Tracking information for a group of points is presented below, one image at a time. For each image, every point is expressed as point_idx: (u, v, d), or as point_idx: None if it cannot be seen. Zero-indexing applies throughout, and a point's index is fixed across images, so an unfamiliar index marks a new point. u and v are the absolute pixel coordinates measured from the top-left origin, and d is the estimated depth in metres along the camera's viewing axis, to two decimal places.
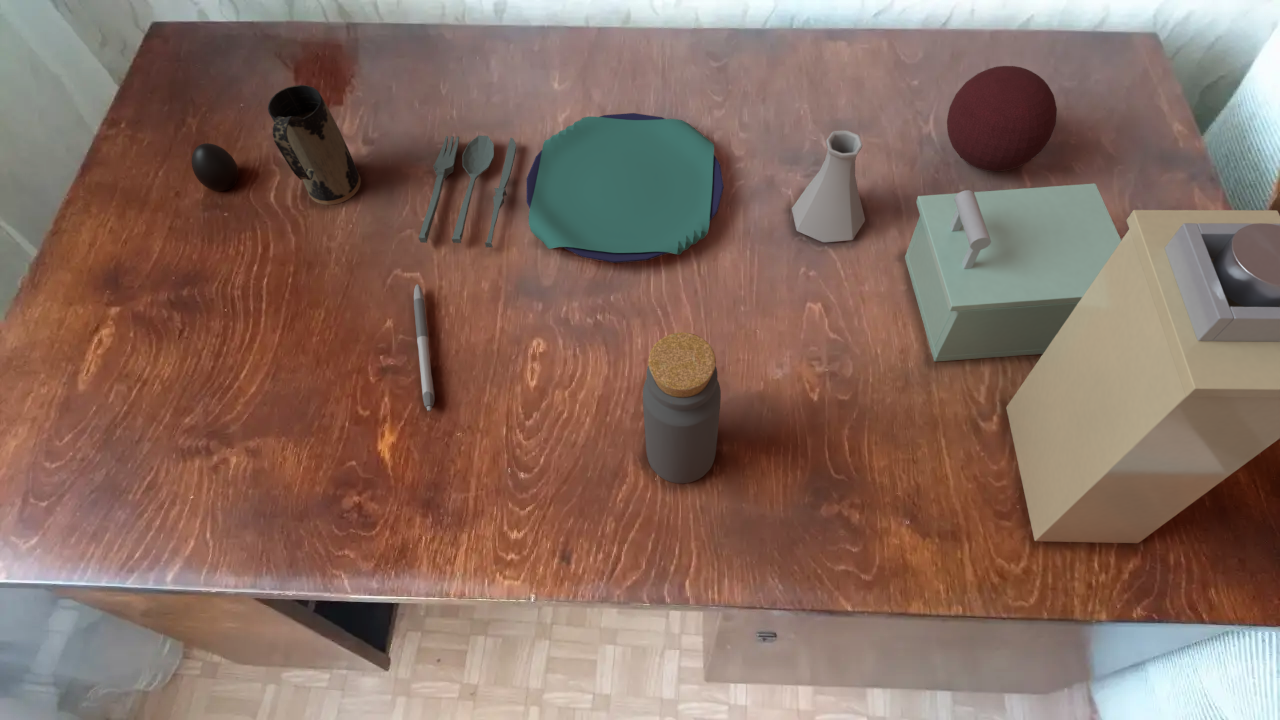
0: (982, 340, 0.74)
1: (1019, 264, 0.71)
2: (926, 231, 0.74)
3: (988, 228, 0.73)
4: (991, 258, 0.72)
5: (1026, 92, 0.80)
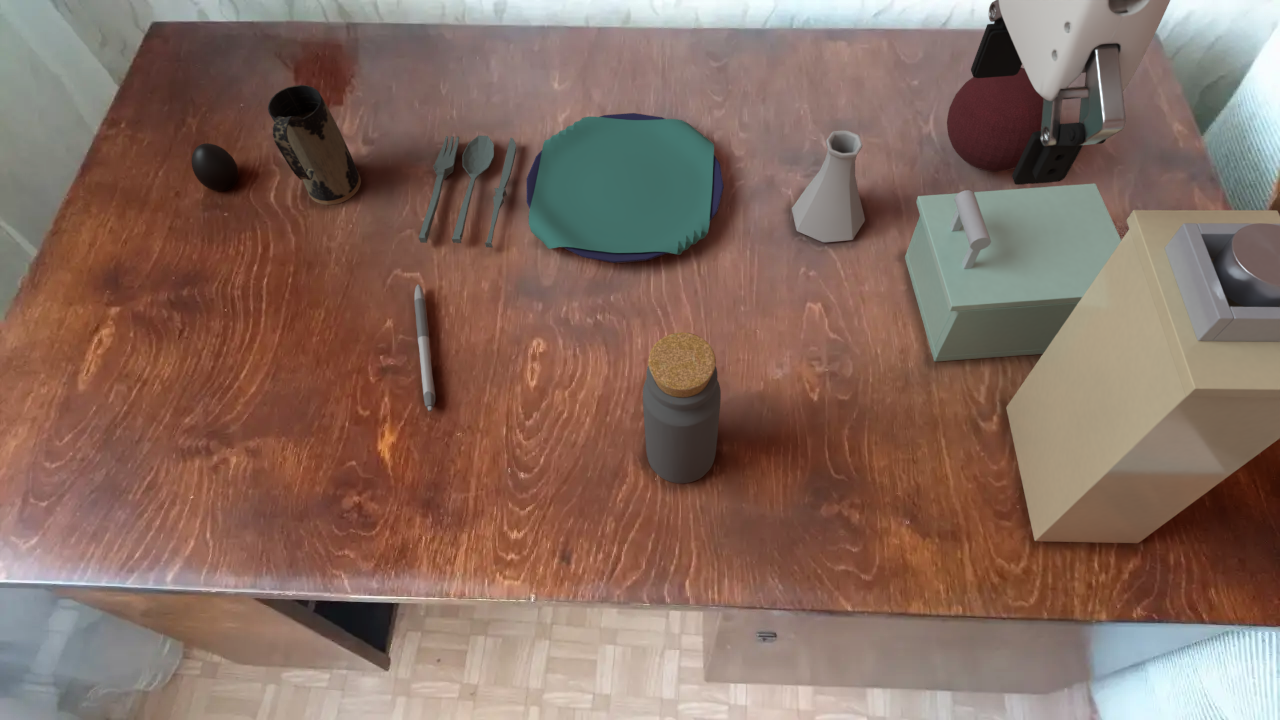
0: (982, 340, 0.74)
1: (1019, 264, 0.71)
2: (926, 231, 0.74)
3: (988, 228, 0.73)
4: (991, 258, 0.72)
5: (1026, 92, 0.80)
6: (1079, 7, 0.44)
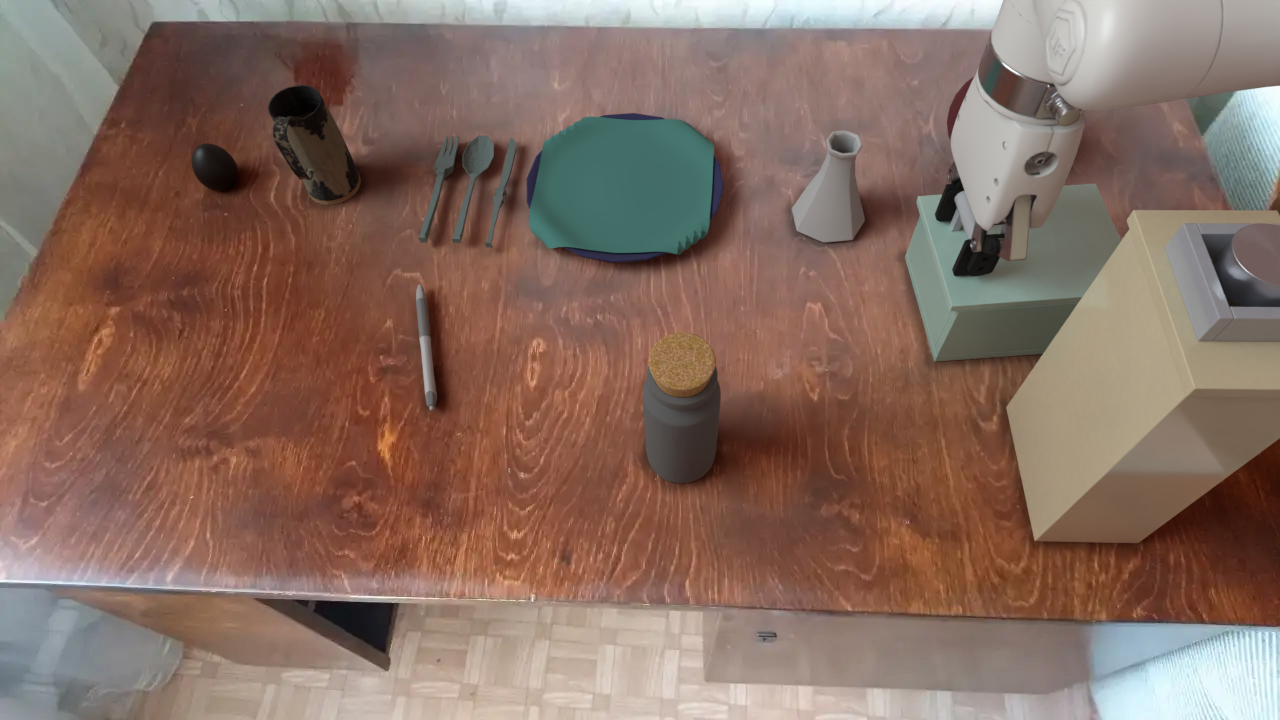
0: (982, 340, 0.74)
1: (1019, 264, 0.71)
2: (926, 231, 0.74)
3: None
4: None
5: None
6: (1003, 170, 0.58)
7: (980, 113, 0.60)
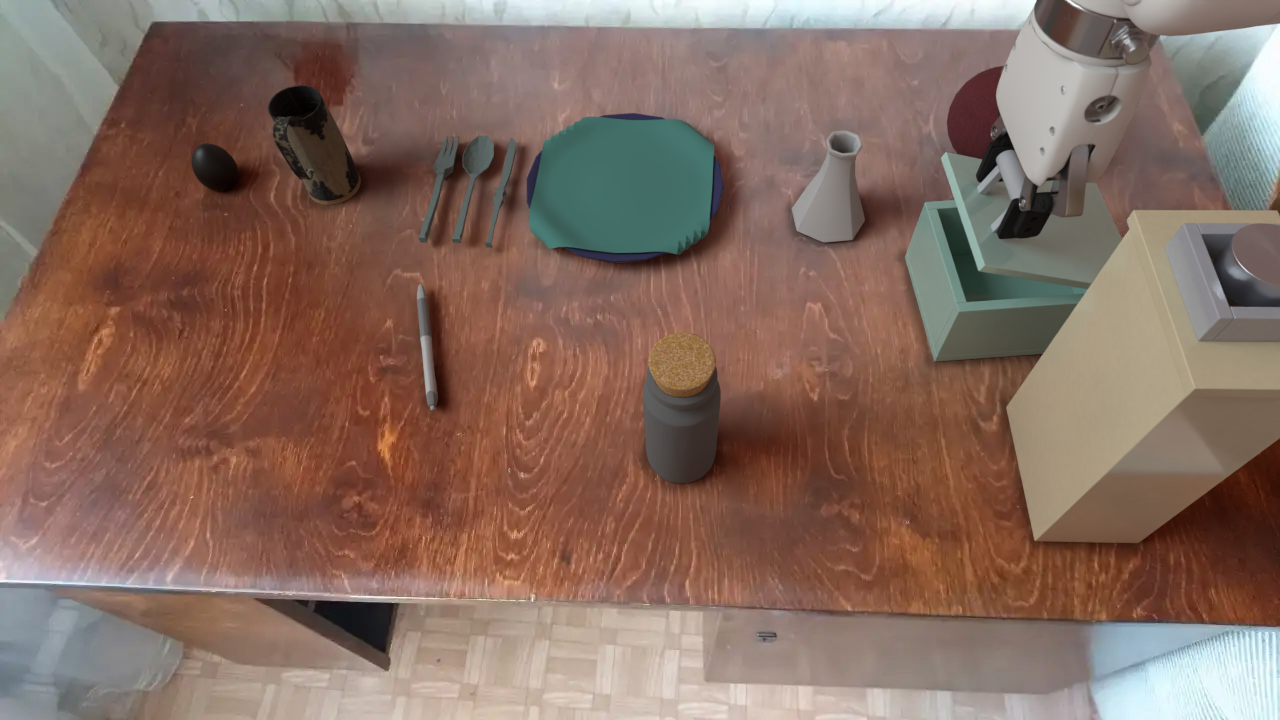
0: (982, 340, 0.74)
1: (1040, 240, 0.69)
2: (953, 188, 0.69)
3: (1011, 199, 0.70)
4: None
5: None
6: (1061, 117, 0.55)
7: (1033, 58, 0.57)
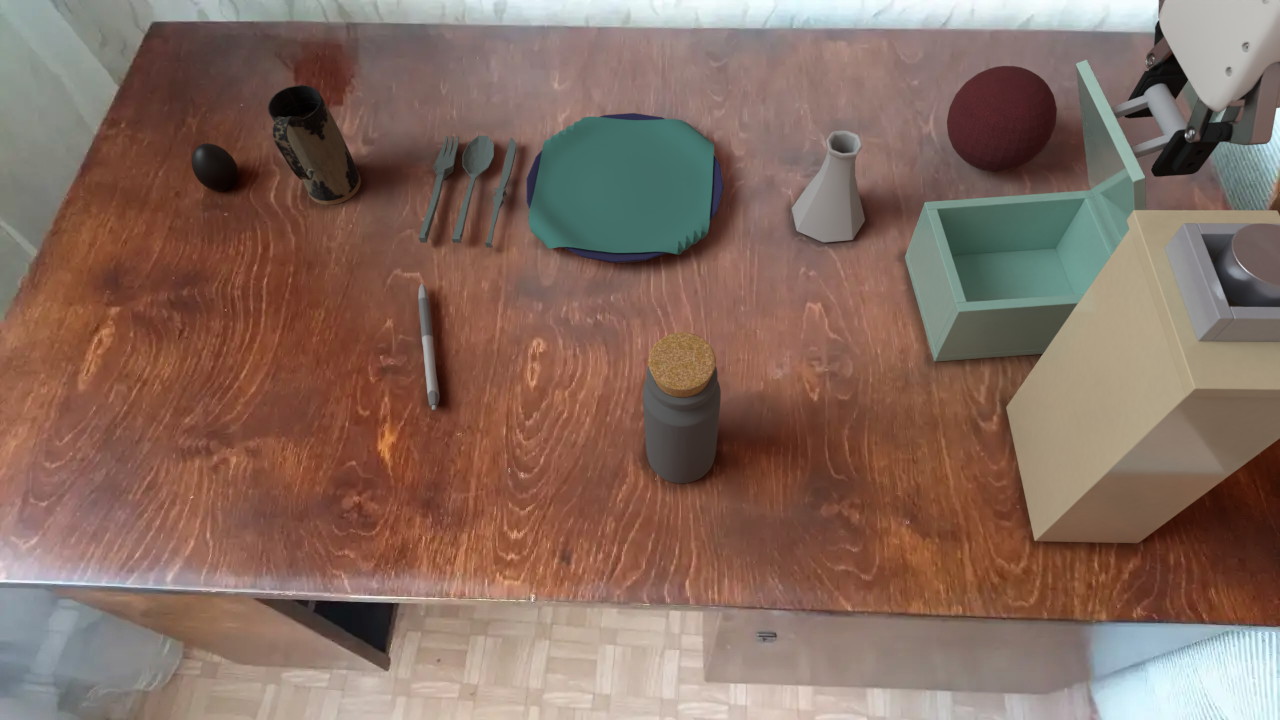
0: (982, 340, 0.74)
1: None
2: (1096, 95, 0.62)
3: None
4: None
5: (1026, 92, 0.80)
6: (1260, 29, 0.50)
7: None
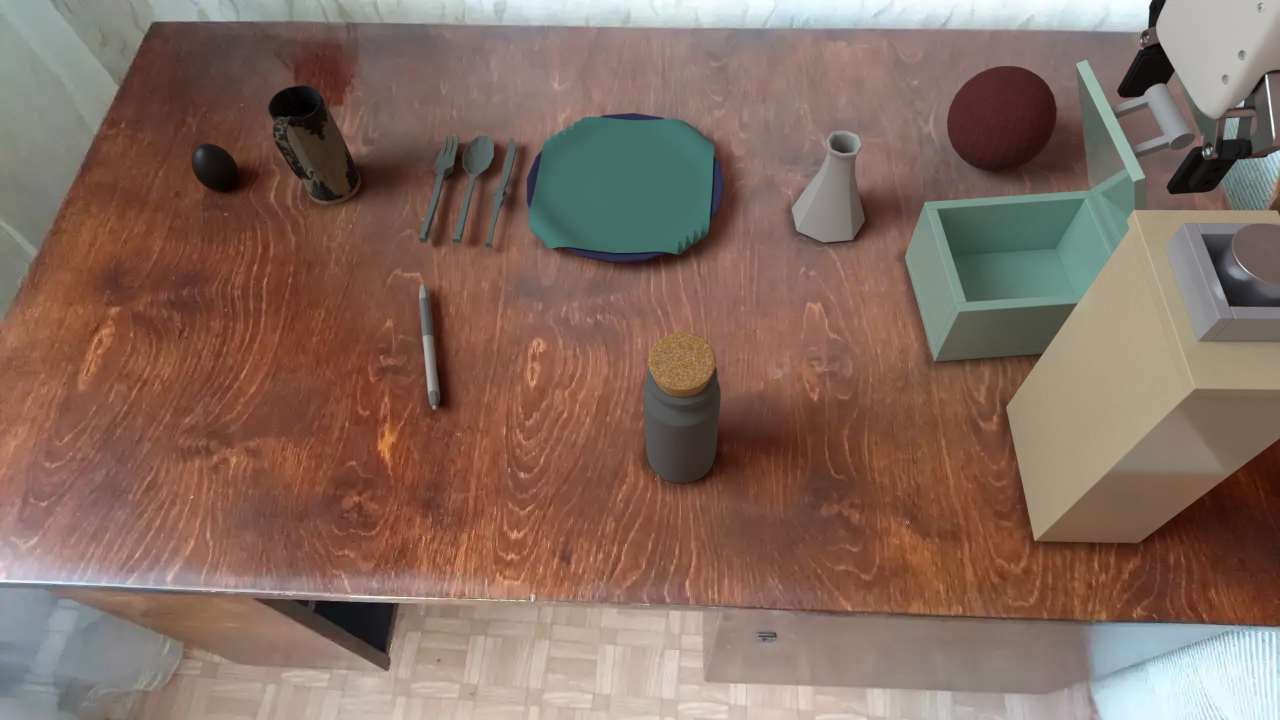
0: (982, 340, 0.74)
1: None
2: (1096, 95, 0.62)
3: None
4: None
5: (1026, 92, 0.80)
6: (1255, 38, 0.50)
7: None
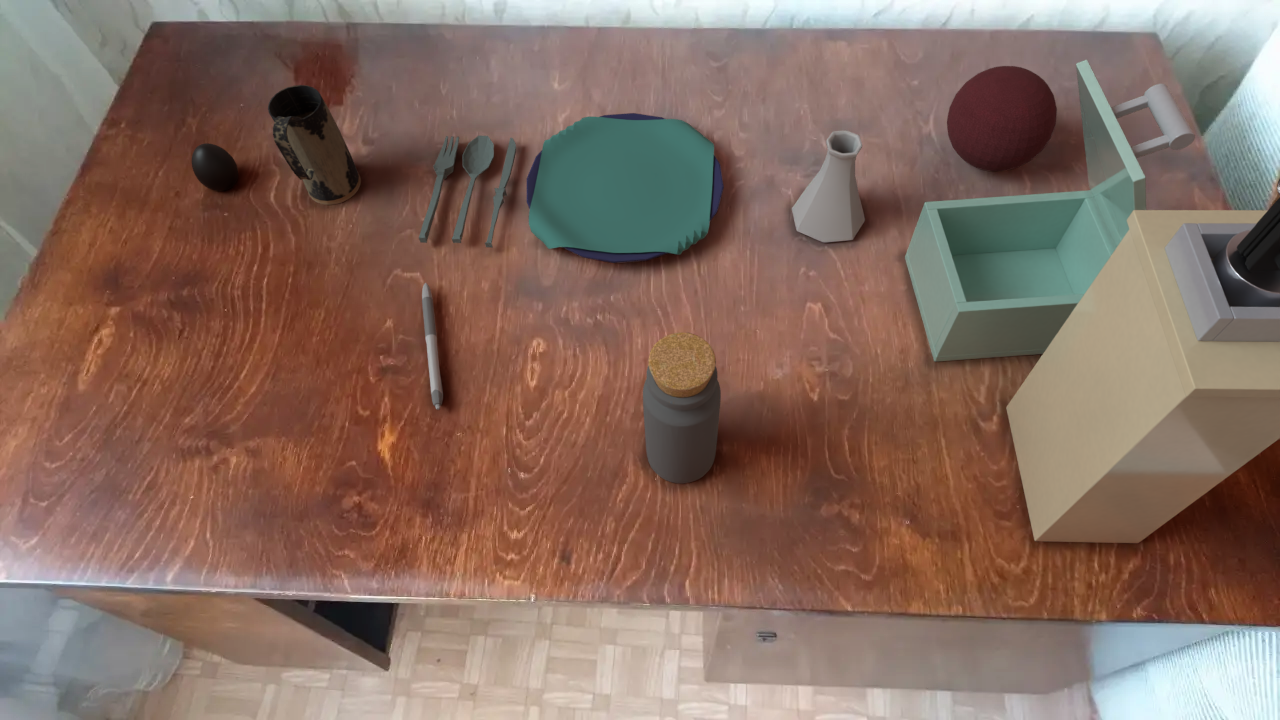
0: (982, 340, 0.74)
1: None
2: (1096, 95, 0.62)
3: None
4: None
5: (1026, 92, 0.80)
6: None
7: None
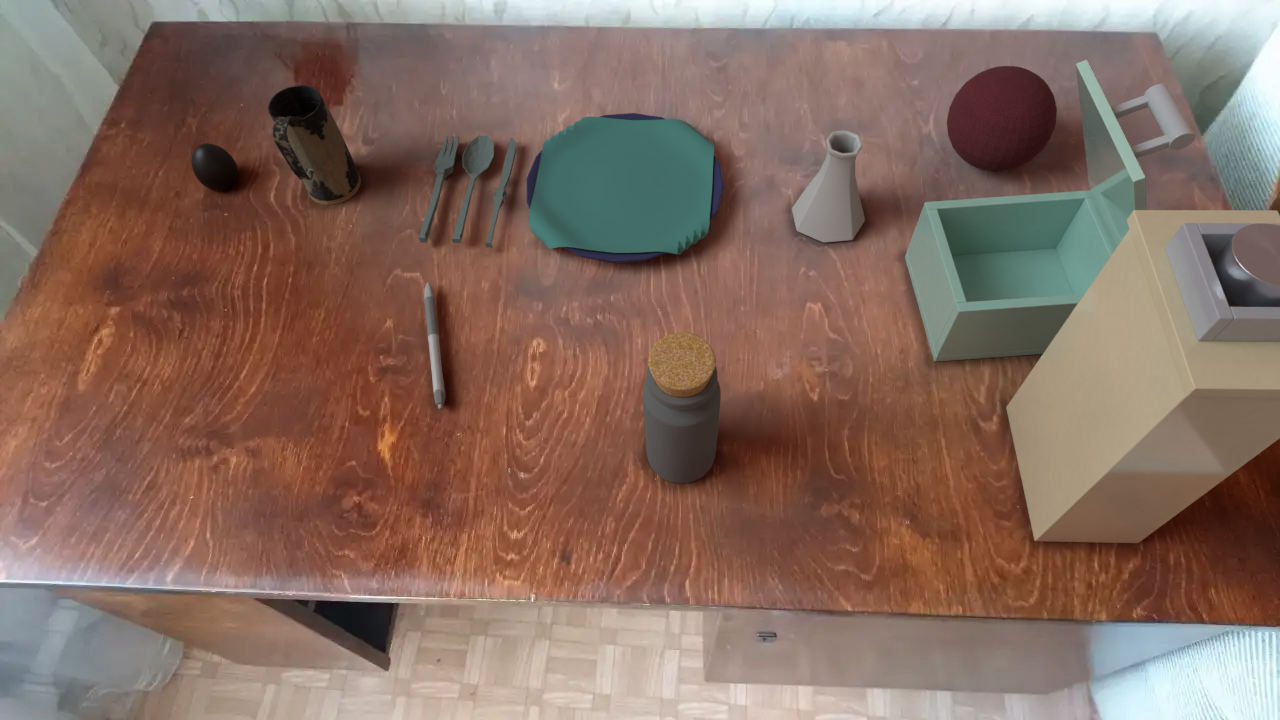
0: (982, 340, 0.74)
1: None
2: (1096, 95, 0.62)
3: None
4: None
5: (1026, 92, 0.80)
6: None
7: None
